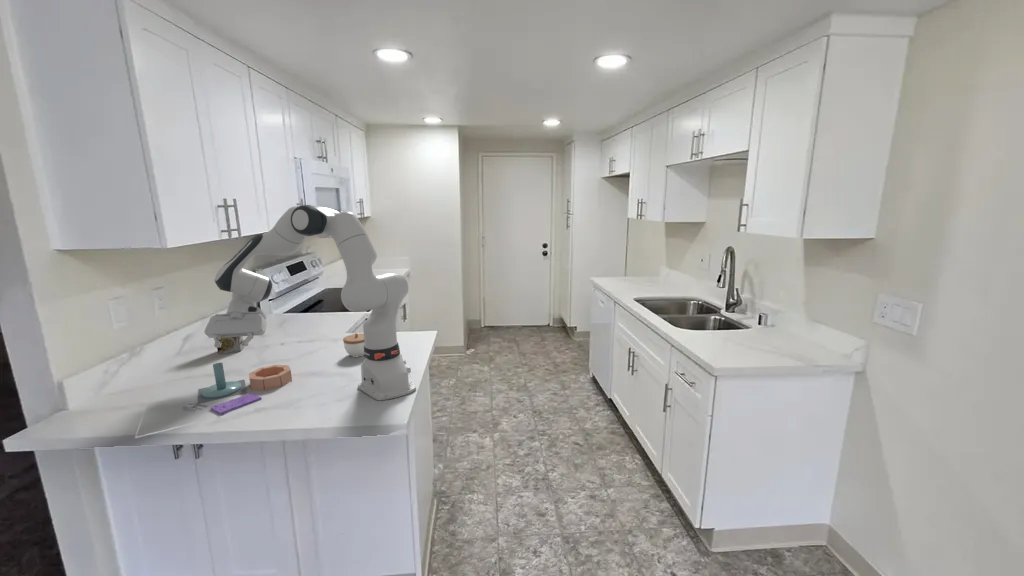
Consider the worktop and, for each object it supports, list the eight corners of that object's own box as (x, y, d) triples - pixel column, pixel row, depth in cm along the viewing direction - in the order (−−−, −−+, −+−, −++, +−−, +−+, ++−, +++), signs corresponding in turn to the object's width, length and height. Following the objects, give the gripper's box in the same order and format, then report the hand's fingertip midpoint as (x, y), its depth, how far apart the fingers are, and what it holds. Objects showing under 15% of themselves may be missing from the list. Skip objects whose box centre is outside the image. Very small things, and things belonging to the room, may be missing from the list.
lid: (242, 392, 150) (238, 365, 148) (201, 401, 144) (196, 373, 142) (240, 381, 160) (236, 355, 158) (202, 389, 153) (197, 362, 151)
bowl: (293, 384, 157) (292, 373, 156) (252, 394, 150) (250, 382, 149) (288, 373, 167) (287, 362, 166) (249, 381, 160) (247, 370, 159)
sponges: (211, 412, 139) (210, 406, 138) (252, 397, 149) (251, 391, 149) (221, 417, 135) (220, 412, 134) (262, 401, 145) (261, 396, 145)
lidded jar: (363, 359, 180) (360, 338, 178) (339, 358, 182) (337, 337, 180) (376, 350, 190) (374, 330, 188) (353, 349, 192) (351, 329, 190)
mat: (246, 394, 150) (246, 392, 150) (197, 405, 142) (197, 404, 142) (244, 380, 161) (244, 379, 161) (198, 390, 154) (198, 389, 154)
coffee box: (244, 347, 199) (239, 313, 196) (241, 351, 193) (235, 316, 190) (221, 349, 196) (216, 315, 193) (217, 354, 190) (211, 318, 187)
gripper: (207, 310, 162) (195, 343, 155) (264, 307, 164) (256, 340, 157) (215, 318, 168) (205, 351, 160) (271, 316, 170) (263, 348, 162)
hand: (230, 346), depth 158 cm, fingers open, 8 cm apart
